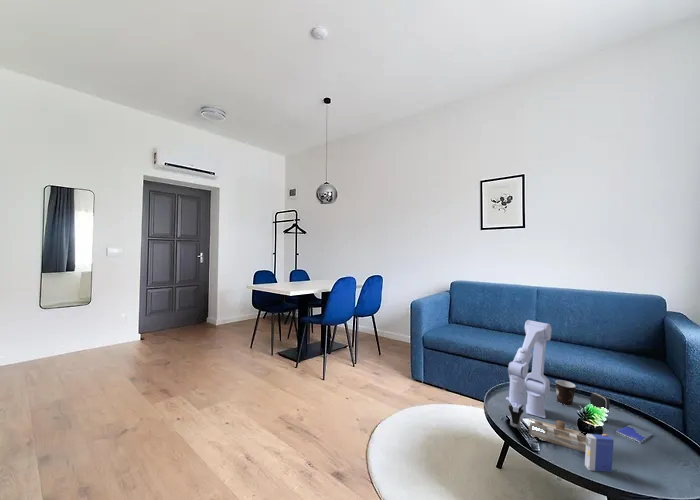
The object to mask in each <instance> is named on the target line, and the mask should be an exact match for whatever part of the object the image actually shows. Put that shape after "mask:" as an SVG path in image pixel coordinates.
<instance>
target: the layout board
mask: <svg viewBox="0 0 700 500" xmlns="http://www.w3.org/2000/svg"><path fill="white" fill-rule="evenodd" d="M529 420H531V421H534V422H535V423H532V422H530V427H529V426H528V435H529V434H530V435H532V436H534V437H538V438H541V439H543V440H542V441H544V440H545V442H548V443H552V444H555V445H559V446H562V447H565V448H570V449H573V450H576V451H580V452H583V453H585V451H586V435H584V434H583V433H584V432H583V433H581V432H582V431H579V430H576V429H572V428H569V427H568V428H567V427H565V425H566V423H565V422H564V421H562V420H556V425H555V424H553V423H548V422H545V421H541V420H537V419H533V418H530V417H529V418H528V421H529ZM532 426H534V427H537V428H540V429H543V430H544V431H545V433H543V432H540V431H536V430H532ZM529 428H530V429H529ZM534 437H533V438H534ZM541 439H540V440H541Z"/></svg>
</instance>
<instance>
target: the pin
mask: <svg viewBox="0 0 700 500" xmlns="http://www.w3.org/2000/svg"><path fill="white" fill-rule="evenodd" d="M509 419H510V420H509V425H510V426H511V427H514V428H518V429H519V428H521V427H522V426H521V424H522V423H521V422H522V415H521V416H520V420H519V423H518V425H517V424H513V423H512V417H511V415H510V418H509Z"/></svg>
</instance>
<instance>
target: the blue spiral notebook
mask: <svg viewBox="0 0 700 500" xmlns="http://www.w3.org/2000/svg"><path fill="white" fill-rule="evenodd" d="M616 432H618V433H620V434H622V435H624V436H627V437H629V438H631V439H634V440H636V441H638V442H641V441H642V440H643V439H644V438H645V437H642V436H641V435H639V434H638V433H636V431H635V430H634V429H633V428H630V427H625V426H624V428H623V427H622V428H620V429H618V430H616V431H615V433H616ZM622 435H621V436H622ZM624 436H623V437H624ZM631 439H630V440H631Z"/></svg>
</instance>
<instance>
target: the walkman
mask: <svg viewBox="0 0 700 500" xmlns="http://www.w3.org/2000/svg"><path fill="white" fill-rule="evenodd" d="M614 440H615V439H614V438H612V437H611V436H609V435H608V434H606V433H602V434H597V433H596V434H595V433H587V434H586V451H585V452H584V453H585V454H584V455H585V456H584V466H585V467H586V469H587V470H588V471H594V472H610V473H612V472H613V459H614V458H613V455H614Z"/></svg>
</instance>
